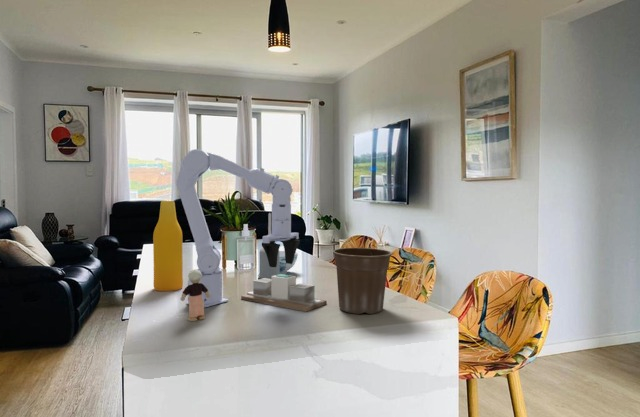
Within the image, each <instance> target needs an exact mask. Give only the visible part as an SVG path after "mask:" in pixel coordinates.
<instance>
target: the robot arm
mask: <svg viewBox="0 0 640 417" xmlns="http://www.w3.org/2000/svg"><path fill="white" fill-rule="evenodd" d="M208 170H211V171H218V170H222V171H224V172H226V173H228V174H231V175H233V176H237V177H239V178H241V179H244V180H245V181H246V183H247V186H249V187H250V188H253V189H255V190H258V191H260V192H262V193H265V194H271V195H272V203H271V235H268V234H267V235H263V236H262V242H261V248H262V247H263V248H264V250H265V252H266V255H267V258H268V262H269V266H270V267H276V266H277V256H278V251H280V248H281V243H282V246H283V249H284V250H283V251H285V261H286V263H288V264H292V263H293V259H294V255H295V252H296V253H297V249H298V247H299V246H300V243H301V240H300V237H299V234H300V233H299V232H292V204H291V202H292V200H291V196H292V194H293V188H292V187H293V186H292V184H291V182H289V181H288V180H286V179H283V178H280V175H278V174H276V175H274V174H271V173H269V172H266V171H265V168H263V167H259V168H258V167H254V168H252V169H249V168H247V167H244V166H242V165H240V164H238V163H236V162H234V161H232V160H229V159H227V158H225V157H223V156H221V155H217V154H215V153H212V152H209V151H208V152H205V151H203V150H202V149H198V148H197V149H196V148H195V149H192V150H190V151H188V152H187V154H186V155H185V156H184V157H183V159H182V160H181V164H180V168H179V172H178V174H177V178H176V182H175V184H176V187H177V190H178V194H179V197H180V200H181V203H182V206H183V209H184V213H185V215H186V219H187V221H188V225H189V228H190V232H191V234H192V237H193V241H194V243H195V251H196V253H197V254H196V255H197V259H196V266H197V270H199V271H200V272H201V274H202V276H201V277H202V278H201V279H200V281H199V282H198V283H202V284H203V285H204V286H205V287H206V288H207V289H208V292H209V294H210V297H209V298H207V297H206V295H205V293H204V292H202V297H203V304H204V308H208V307H211V306H216V305H219V304H223V303H225V302H229V299H228V298H224V297H223V269H221V268H220V264H221V261H222V255H221V252H220V251H219V250H218V249H217V248H216V246H215V244H214V241H213V239H212V237H211V234H210V230H209V226H208V223H207V222H206V217H205V215H204V211H203V208H202V204H201V202H200V199H199V196H198V192H197V190H196V189H197V188H196V184H197V182H198V181H199V179H200V177H201V176H202V175H203V174H205V173H206V172H207V171H208ZM277 242H278V243H277ZM279 242H281V243H280V244H279ZM191 284H193V283H191V281H190V280H189V279H188V281H187V286H189V285H191ZM185 304H187V305H189V295H187V301H186V302H185Z"/></svg>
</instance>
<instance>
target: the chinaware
mask: <svg viewBox="0 0 640 417" xmlns="http://www.w3.org/2000/svg"><path fill="white" fill-rule="evenodd" d="M298 254H299V253H298V252H297V251H296V252H295V255H294V259H293V263H292V264H288V263H286V261H285V250H279V274H285V275H287V274H288V271H289V270H291V269H292V268H293V267H294V266H295V264H296V262H297V259H298V256H299V255H298Z"/></svg>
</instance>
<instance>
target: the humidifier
mask: <svg viewBox="0 0 640 417" xmlns="http://www.w3.org/2000/svg"><path fill="white" fill-rule="evenodd" d="M267 216H268V224H267V225H268V226H267V230H268V234H267V235H271V234H272V212H269V213H268V215H267ZM279 251H280V250H279ZM279 251H278V256H277V266H276V267H270V266H269V262H268V258H267V255H266V252H265V250H264V248H263V247H262V246H261V247H260V250H259V276H258V277H257V280H258V279H262V278H267V279H271V276H275V275H279Z"/></svg>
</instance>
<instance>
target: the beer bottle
mask: <svg viewBox="0 0 640 417" xmlns="http://www.w3.org/2000/svg"><path fill="white" fill-rule="evenodd" d="M159 208H160V209H159V214H158V215H159V217H158V221H157V223H156V226H155V227H154V230H153V235H152V236H153V237H152V240H153V242H152V244H153V245H152V246H153V249H152V250H153V253H152V254H153V288H154V290H155V291H156V292H172V291H173V292H174V291H179V290H181V289H182V288H183V286H184V278H183V275H184V274H183V270H184V269H183V267H184V266H183V259H184V258H183V230H182V228H181V226H180V224H179V222H178V219H177V218H178V217H177V212H176V203H175V201H174V200H161V201H160V207H159Z"/></svg>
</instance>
